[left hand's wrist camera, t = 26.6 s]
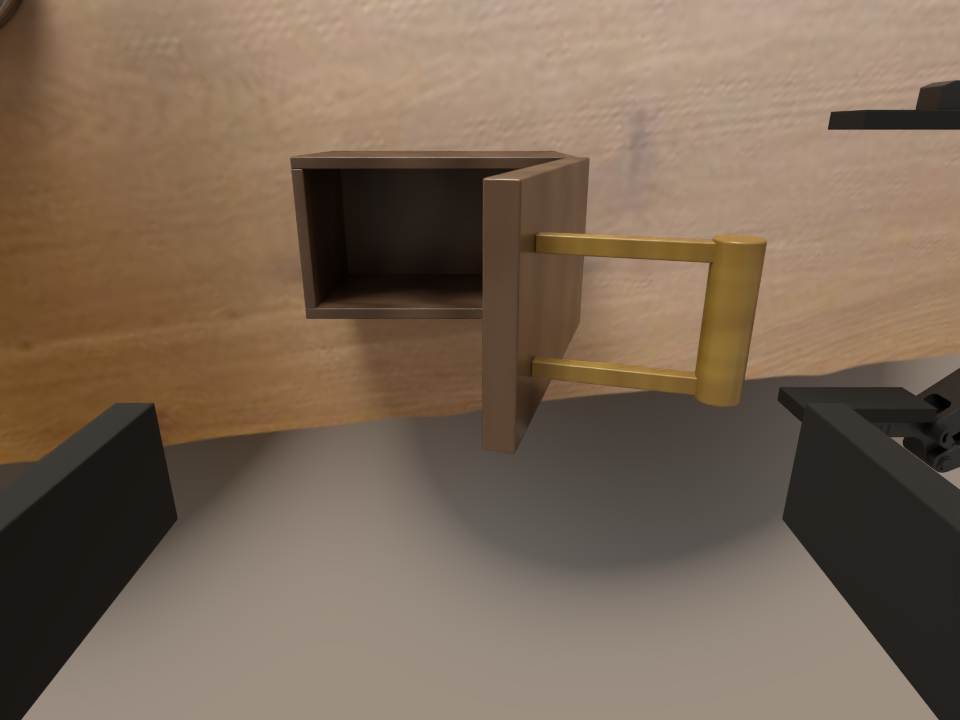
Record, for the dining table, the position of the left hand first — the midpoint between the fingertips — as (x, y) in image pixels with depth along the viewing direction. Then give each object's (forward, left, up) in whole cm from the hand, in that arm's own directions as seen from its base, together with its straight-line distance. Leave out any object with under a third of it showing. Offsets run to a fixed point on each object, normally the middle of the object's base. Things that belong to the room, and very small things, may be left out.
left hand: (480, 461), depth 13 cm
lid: (+3, 0, -18) cm, 18 cm away
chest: (-3, 0, -38) cm, 38 cm away
